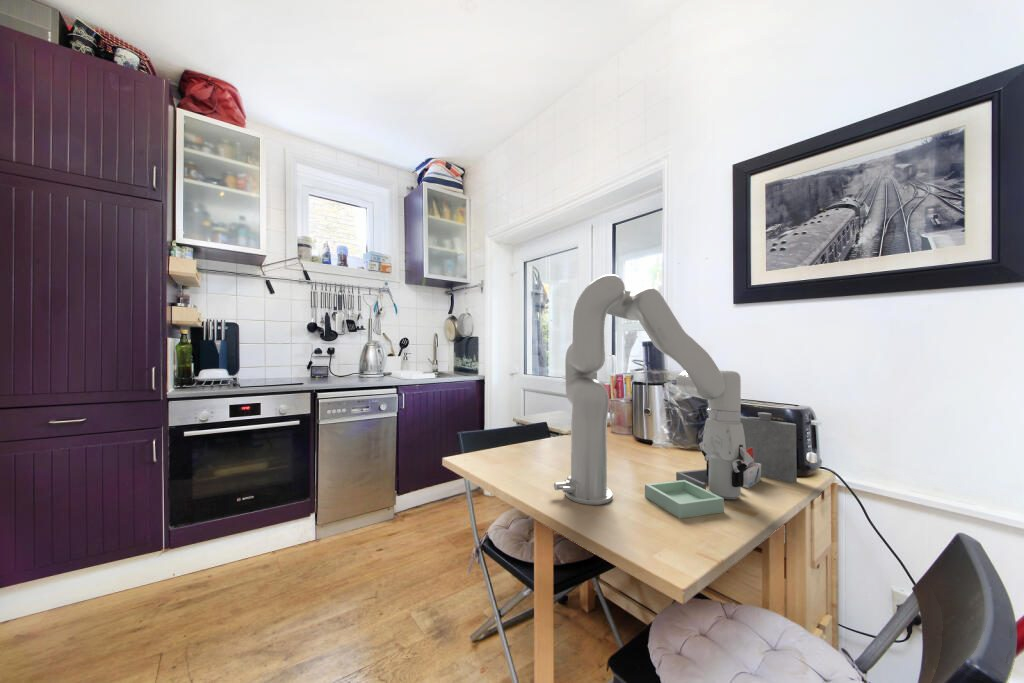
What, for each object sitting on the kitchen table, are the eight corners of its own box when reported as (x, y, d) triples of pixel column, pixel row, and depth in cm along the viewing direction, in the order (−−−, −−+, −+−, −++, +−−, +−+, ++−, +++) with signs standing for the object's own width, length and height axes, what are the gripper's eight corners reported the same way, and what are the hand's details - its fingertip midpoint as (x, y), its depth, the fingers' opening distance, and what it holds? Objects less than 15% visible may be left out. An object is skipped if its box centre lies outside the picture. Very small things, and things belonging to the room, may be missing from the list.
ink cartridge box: (761, 480, 110) (761, 448, 110) (748, 488, 103) (748, 454, 103) (752, 478, 112) (752, 446, 112) (738, 486, 105) (738, 452, 105)
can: (746, 500, 94) (746, 454, 94) (718, 500, 94) (718, 454, 94) (729, 489, 101) (729, 447, 101) (703, 489, 101) (703, 446, 101)
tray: (680, 518, 84) (680, 504, 84) (644, 496, 97) (644, 484, 97) (723, 511, 88) (723, 498, 88) (684, 491, 100) (684, 479, 100)
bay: (703, 497, 96) (702, 484, 96) (676, 483, 106) (676, 472, 106) (740, 492, 100) (740, 479, 100) (711, 479, 110) (711, 468, 110)
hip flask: (798, 481, 109) (797, 415, 110) (793, 484, 107) (793, 417, 107) (740, 467, 122) (740, 408, 123) (735, 469, 120) (735, 409, 120)
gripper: (688, 411, 105) (688, 471, 105) (742, 422, 88) (742, 494, 88) (709, 410, 107) (709, 469, 107) (765, 421, 91) (765, 491, 90)
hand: (724, 480), depth 97 cm, fingers closed on can, 7 cm apart
